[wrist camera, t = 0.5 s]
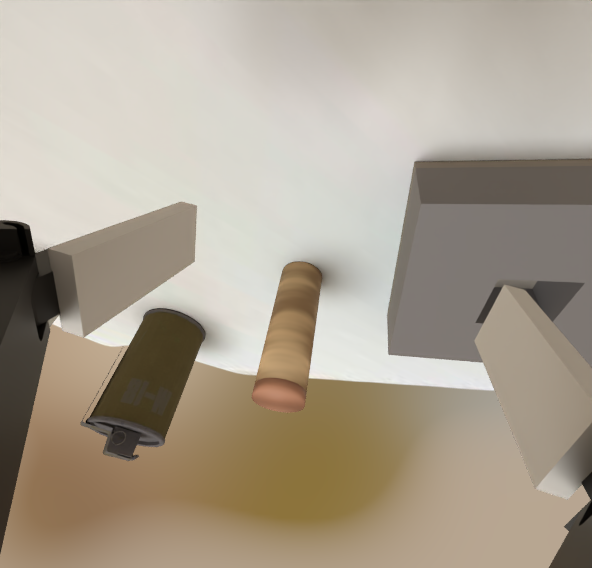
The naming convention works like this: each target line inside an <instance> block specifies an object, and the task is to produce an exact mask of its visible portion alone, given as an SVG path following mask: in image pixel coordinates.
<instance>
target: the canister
mask: <svg viewBox="0 0 592 568" xmlns="http://www.w3.org/2000/svg"><path fill="white" fill-rule="evenodd" d="M204 339H205V331H204V330H203V328H202V327H201V325H200V324H199V323H197V322H196V321H195V320H193V319H192V318H190V317H189V316H186V315H184V314H182V313H180V312H176V311H172V310H168V309H153V310H150V311H148V312H146V313H145V315H144V317H143V321H142V323H141V325H140V327H139V329H138V331H137V332H136V334H135V336H134V338H133V340H132V341H131V343H130V345H129V347H128V349H127V351H126V352H125V354H124V356H123V358H122V360H121V361H120V363H119V365H118V367H117V369H116V370H115V372H114V374H113V376H112V378H111V379H110V381H109V383H108V385H107V387H106V389H105V390H104V392H103V394H102V396H101V398H100V399H99V401H98V403H97V405H96V407H95V408H94V411H93V412H92V414H91V416H90V417H89V418H88V419H87V420H86V423H84V422H83V420H82V421H81V425H82V426H85V427H88V428H90V429H92V430H94V431H95V432H97V433H99V434H101V435H104V436H106V437H108V438H107V441H106V444H105V447H104V450H103V454H104V455H108V456H111V457H116V458H120V459H123V460H127V461H130V460H134V459H136V458H137V457H139V456H138V455H134V456H133V452H134V450H135V448H136V446H137V445H140V446H149V447H159V446H162V445H163V444H164V443H165V436H166V434H167V431H168V429H169V426H170V424H171V421H172V418H173V416H174V413H175V411H176V408H177V405H178V403H179V400H180V397H181V395H182V392H183V390H184V387H185V385H186V382H187V380H188V377H189V374H190V371H191V369H192V366H193V364H194V361H195V359H196V356H197V354H198V351H199V348H200V346H201V343H202V342H203V341H204ZM114 363H115V362H114ZM108 374H109V373H108Z"/></svg>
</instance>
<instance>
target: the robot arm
mask: <svg viewBox="0 0 592 568" xmlns="http://www.w3.org/2000/svg"><path fill="white" fill-rule="evenodd" d="M196 214H197V206H196V205H193V204H189V203H185V202H179V203H176V204H173V205H170V206H167V207H164V208H162V209H159V210H156V211H153V212H150V213H147V214H144V215H142V216H139V217H136V218H133V219H130V220H127V221H124V222H122V223H119V224H116V225H113V226H110V227H107V228H104V229H102V230H99V231H96V232H93V233H90V234H87V235H84V236H82V237H79V238H76V239H73V240H70V241H67V242H65V243H62V244H59V245H56V246H53V247H50V248H48V249H46V250H44V251H41V252H38V253H35V251H34V246H33V241H32V236H31V231H30V226H29V225H27V224H25V223H22V222H17V221H6V220H1V221H0V552H1V548H2V544H3V539H4V535H5V530H6V526H7V521H8V517H9V512H10V508H11V504H12V499H13V494H14V490H15V486H16V481H17V477H18V472H19V467H20V463H21V459H22V454H23V450H24V445H25V441H26V437H27V432H28V428H29V423H30V419H31V414H32V410H33V405H34V401H35V396H36V392H37V387H38V383H39V378H40V374H41V370H42V365H43V361H44V355H45V351H46V347H47V343H48V338H49V334H50V327H49V322H48V320H50V319H52V318H53V317H55V316H57V315H60V321H61V327H62V331H65V332H69V333H71V334H74V335H77V336H81V337H83V338H84V337H85V336H87V335H88V334H90V333H91V332H93V331H94V330H95V329H97V328H98V327H100V326H101V325H103V324H104V323H106V322H107V321H109V320H110V319H111V318H113V317H114V316H116V315H117V314H119V313H120V312H122V311H123V310H125V309H126V308H128V307H129V306H130V305H132V304H133V303H135V302H136V301H138V300H139V299H141V298H142V297H144V296H145V295H147V294H148V293H149V292H151V291H152V290H154V289H155V288H157V287H158V286H160V285H161V284H163V283H164V282H165V281H167V280H168V279H170V278H171V277H173V276H174V275H176V274H177V273H179V272H180V271H182V270H183V269H184V268H186V267H187V266H189V265H190V264H192V263H193V262H195V238H196ZM474 341H475V344H476V346H477V349H478V351H479V353H480V356H481V358H482V361H483V363H484V366H485V368H486V371H487V373H488V375H489V378H490V380H491V383H492V385H493V388H494V390H495V392H496V395H497V397H498V400H499V402H500V404H501V407H502V410H503V412H504V414H505V417H506V419H507V422H508V424H509V426H510V429H511V431H512V434H513V436H514V439H515V441H516V444H517V446H518V448H519V451H520V453H521V456H522V458H523V461H524V463H525V466H526V468H527V470H528V472H529V475H530V478H531V480H532V483H533V485H534V487H535V489H537V490H540V491H544V492H546V493H549V494H552V495H555V496H558V497H561V498H564V499H569V497H571V495H572V494H573V493H574V492H575V491H576V490H577V489H578V488H579V487H580V486H581V485H583V486H584V488H585V490H586V492H587V494H588V496H589V497H590V499H591V501H590V502H589V503H588V504H587V505H586V506H585V507H584V508H582V510H581V511H580V512H578V513H577V514H576V515H575V517H573V518H572V519H571V520H570V521H569V522H568V523H567V524H566V525H565V526H564V527H565V528H566V529H567V530H568V531H569V533H568V534H567V536H566V538H565V540H564V542H563V543H562V545H561V547H560V549H559V550H558V552H557V554H556V556H555V558H554V560H553V561H552V563H551V565H550V567H549V568H592V367H591V366H590V365H589V364H588V363H587V362H586V361H585V360H584V358H583V357H582V356H581V355H580V354H579V353H578V351H577V350H576V349H575V348H574V347H573V346H572V344H571V343H570V342H569V341H568V340H567V339H566V337H565V336H564V335H563V334H562V333H561V331H560V330H559V329H558V328H557V327H556V326H555V324H554V323H553V322H552V321H551V320H550V319H549V317H548V316H547V315H546V314H545V313H544V312H543V310H542V309H541V308H540V307H539V306H538V305H537V303H536V302H535V301H534V300H533V299H532V298H531V296H530V295H529V294H528V293H527V292H526V291H525V290H524V289H520V288H516V287H512V286H508V285H504V286H503V288H502V290H501V292H500V293H499V295H498V297H497V299H496V301H495V303H494V305H493V307H492V308H491V310H490V312H489V314H488V316H487V318H486V320H485V322H484V323H483V325H482V327H481V329H480V331H479V333H478V335H477V337H476V338H475V340H474Z"/></svg>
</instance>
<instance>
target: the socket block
mask: <svg viewBox="0 0 592 568" xmlns="http://www.w3.org/2000/svg"><path fill="white" fill-rule="evenodd" d="M504 285H508V286H512V287H516V288H520V289H524V290H525V291H526V292H527V293H528V294H529V295H530V296H531V298H532V299H533V300H534V301H535V302H536V303H537V305H538V306H539V307H540V308H541V309H542V310H543V312H544V313H545V314H546V315H547V316H548V317H549V319H550V320H551V321H552V322H553V323H554V324H555V326H556V327H557V328H558V329H559V330H560V331H561V333H562V334H563V335H564V336H565V337H566V339H567V340H568V341H569V342H570V343H571V344H572V346H573V347H574V348H575V349H576V350H577V351H578V353H579V354H580V355H581V356H582V357H583V358H584V360H585V361H586V362H587V363H588V364H589V365H590V366H591V367H592V159H568V160H504V161H439V162H414V168H413V173H412V179H411V184H410V190H409V196H408V201H407V207H406V213H405V218H404V224H403V229H402V235H401V241H400V246H399V252H398V257H397V263H396V269H395V274H394V280H393V286H392V291H391V297H390V302H389V308H388V314H387V323H388V353H389V355H399V356H411V357H423V358H435V359H447V360H459V361H471V362H483V361H482V358H481V356H480V353H479V351H478V349H477V346H476V344H475V341H474V340H475V338H476V337H477V335H478V333H479V331H480V329H481V327H482V325H483V323H484V322H485V320H486V318H487V316H488V314H489V312H490V310H491V308H492V307H493V305H494V303H495V301H496V299H497V297H498V295H499V293H500V292H501V290H502V288H503V286H504Z"/></svg>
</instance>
